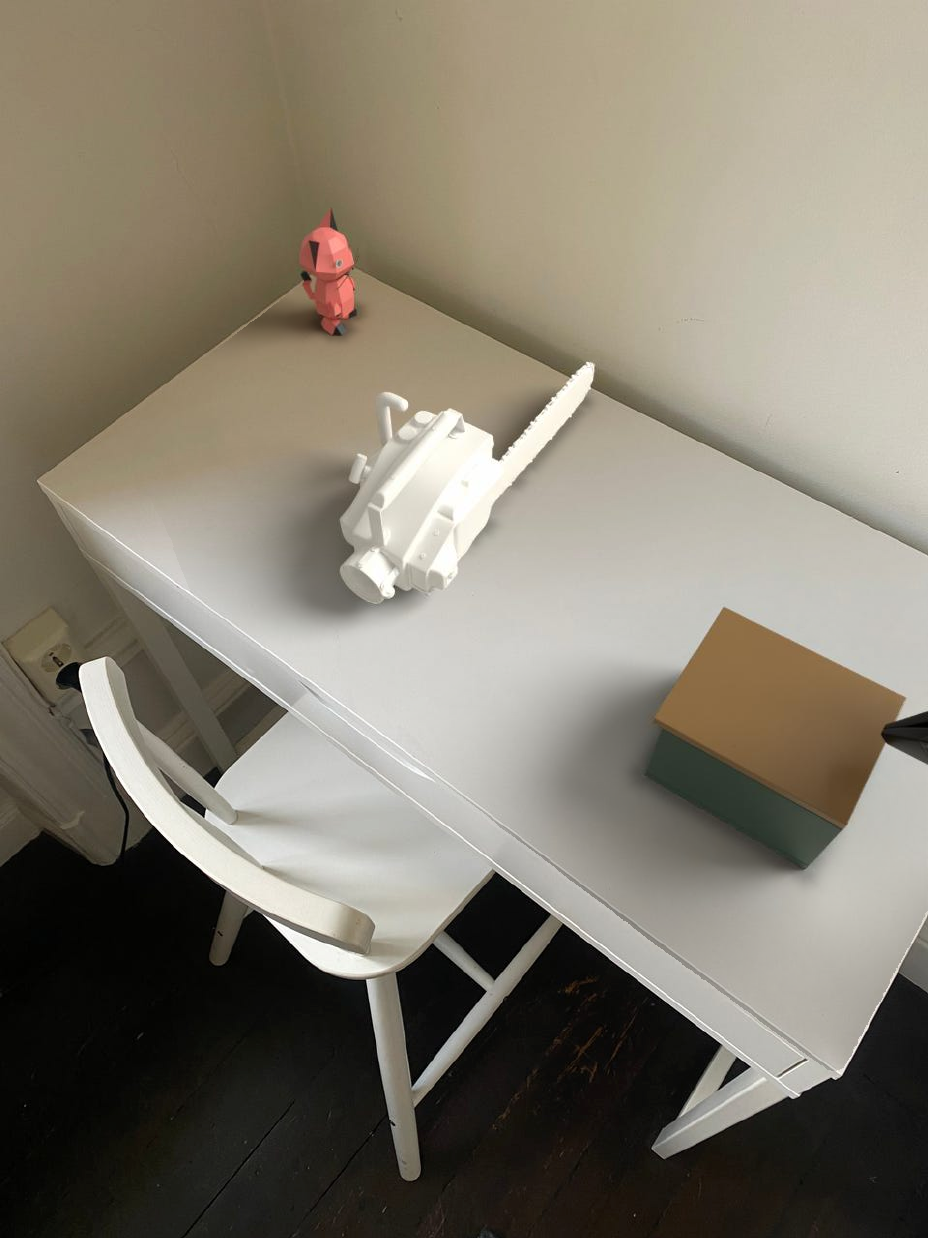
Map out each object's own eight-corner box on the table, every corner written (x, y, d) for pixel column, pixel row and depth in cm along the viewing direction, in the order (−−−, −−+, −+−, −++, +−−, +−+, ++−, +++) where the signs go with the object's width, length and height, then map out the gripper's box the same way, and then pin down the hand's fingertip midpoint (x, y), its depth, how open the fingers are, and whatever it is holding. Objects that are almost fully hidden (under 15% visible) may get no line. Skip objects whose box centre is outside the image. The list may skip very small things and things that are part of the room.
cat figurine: (352, 345, 101) (338, 249, 91) (295, 333, 102) (275, 237, 92) (374, 305, 105) (363, 209, 95) (319, 294, 106) (302, 198, 96)
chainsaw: (615, 403, 96) (632, 303, 85) (419, 638, 80) (411, 551, 70) (494, 349, 101) (496, 248, 90) (287, 561, 85) (261, 468, 74)
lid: (651, 722, 66) (653, 717, 65) (721, 611, 71) (724, 606, 71) (843, 830, 61) (846, 825, 61) (902, 702, 67) (907, 697, 66)
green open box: (643, 775, 73) (661, 728, 66) (708, 670, 78) (731, 616, 71) (805, 869, 68) (842, 830, 61) (862, 752, 74) (902, 703, 67)
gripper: (1155, 516, 50) (882, 552, 62) (1062, 783, 41) (769, 761, 54) (1216, 660, 54) (948, 666, 66) (1143, 930, 45) (852, 877, 58)
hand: (884, 734), depth 61 cm, fingers closed
